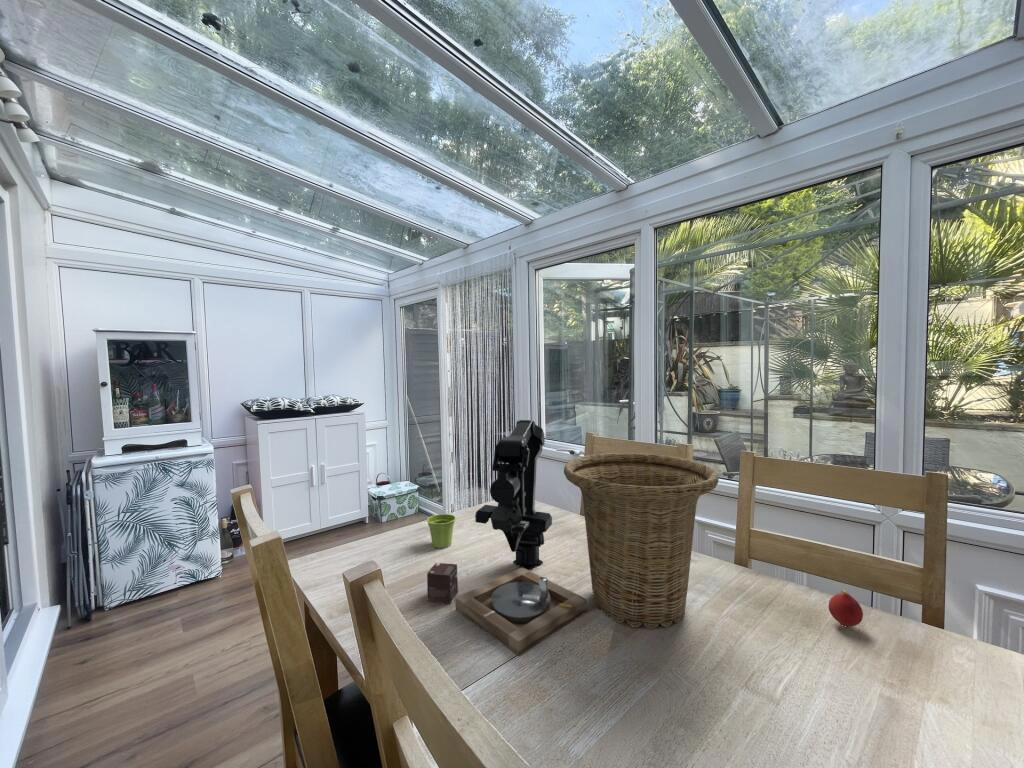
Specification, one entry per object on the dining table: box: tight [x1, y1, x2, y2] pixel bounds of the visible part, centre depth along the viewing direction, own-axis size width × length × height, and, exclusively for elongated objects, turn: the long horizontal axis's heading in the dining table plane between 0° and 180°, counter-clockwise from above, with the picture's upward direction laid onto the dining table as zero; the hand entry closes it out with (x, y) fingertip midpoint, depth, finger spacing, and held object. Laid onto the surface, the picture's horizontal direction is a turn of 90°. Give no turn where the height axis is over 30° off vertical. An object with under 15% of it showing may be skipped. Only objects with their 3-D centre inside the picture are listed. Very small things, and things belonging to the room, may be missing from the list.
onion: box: [827, 589, 864, 628], centre depth 91 cm, size 6×6×8 cm
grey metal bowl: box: [491, 576, 551, 624], centre depth 98 cm, size 14×14×7 cm
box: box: [426, 562, 459, 605], centre depth 105 cm, size 6×6×7 cm
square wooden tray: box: [454, 567, 588, 657], centre depth 98 cm, size 22×22×3 cm
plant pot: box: [426, 513, 457, 549], centre depth 136 cm, size 9×9×9 cm
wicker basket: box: [563, 452, 719, 630], centre depth 101 cm, size 35×35×33 cm
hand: (513, 551), depth 104 cm, fingers closed
